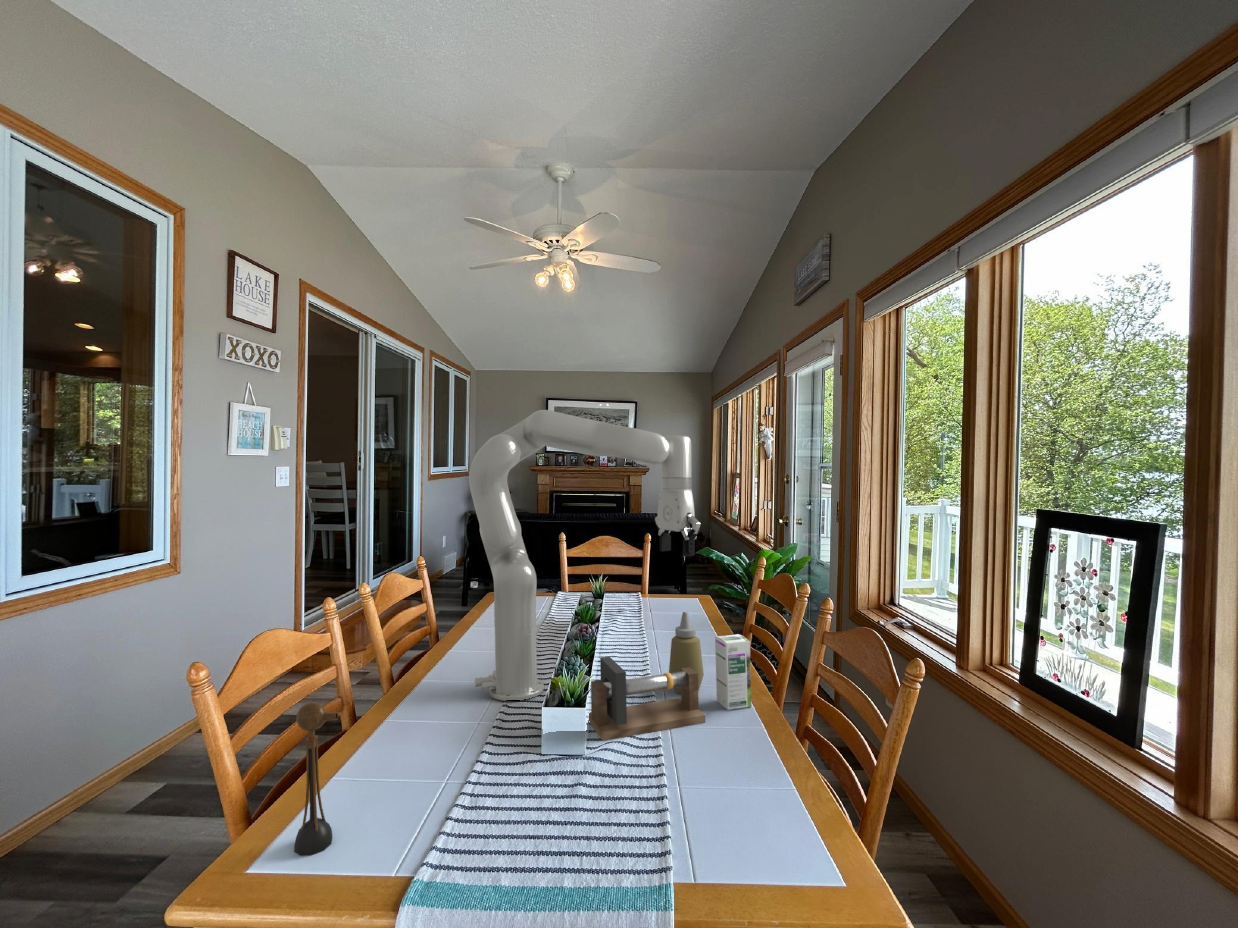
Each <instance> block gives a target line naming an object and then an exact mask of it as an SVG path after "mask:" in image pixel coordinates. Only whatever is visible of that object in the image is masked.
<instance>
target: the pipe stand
mask: <svg viewBox="0 0 1238 928" xmlns="http://www.w3.org/2000/svg"><path fill="white" fill-rule="evenodd" d="M678 687H681V693H680V694H681V695H680V697H674V698H670V699H664V700H659V701H658V700H656V701H652V702H650V701H649V702H644V703H639V704H632V705H626V710H627V724H622V725H616V724H615V722H614V721H613V720H612V719H611V717H610V716H609V715H608V714H607V698H612V693H611V683H610V682H606V683H603V682H602V681H601V679H600V680H599V679H598V680H597V679H596V680H592V681H590V701H591V703H590V704H591V707H590V708H591V710H590V711H591V712H590V713H589V712H588V713H589V721H590V723H589V725H591V727H592V728H593V730H594V731H595V733H596V735H597V736H598V737H599V738H600V740H601V741H602V742H604V741H609V740H610V741H611V740H615V739H621V738H627V737H632V736H637V735H643V734H648V733H653V732H659V731H665V730H670V729H671V730H672V729H677V728H682V727H687V726H693V725H698V724H703V723H704V724H705V723H706V714H705V713H704V712H702V711H701V710H700V709H699V691H698V673H697V672H696V671H694V670H693V669H691V668H690V667H687V668H681V672H674V673H669V672H665V673H661V674H654V675H648V676H641V677H635V678H628V679H627V678H626V696H631V695H638V694H643V693H645V694H646V693H650V692H651V693H652V692H657V691H663V690H664V691H665V690H666V691H668V690H672V689H674V688H678ZM589 721H588V722H589Z"/></svg>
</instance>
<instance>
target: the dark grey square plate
mask: <svg viewBox="0 0 1238 928" xmlns="http://www.w3.org/2000/svg"><path fill="white" fill-rule="evenodd" d="M599 662H600V665H599V666H600V669H599V670H600V671H599V672H600V680H601V681H602V682H603V683H606V682H610V683H611V693H612V698H607V714H608V715H609V716H610V717H611V719H612V720H613V721H614V722H615V724H616V725H622V724H627V710H626V706H627V695H626V679H627V672H626V671H625V670H624V669H623V668H622V667H621V666H620V665H619V664H618V663H617V662H616V661H614V659H613V658H612V657H611V656H603V657H600V659H599Z"/></svg>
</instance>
